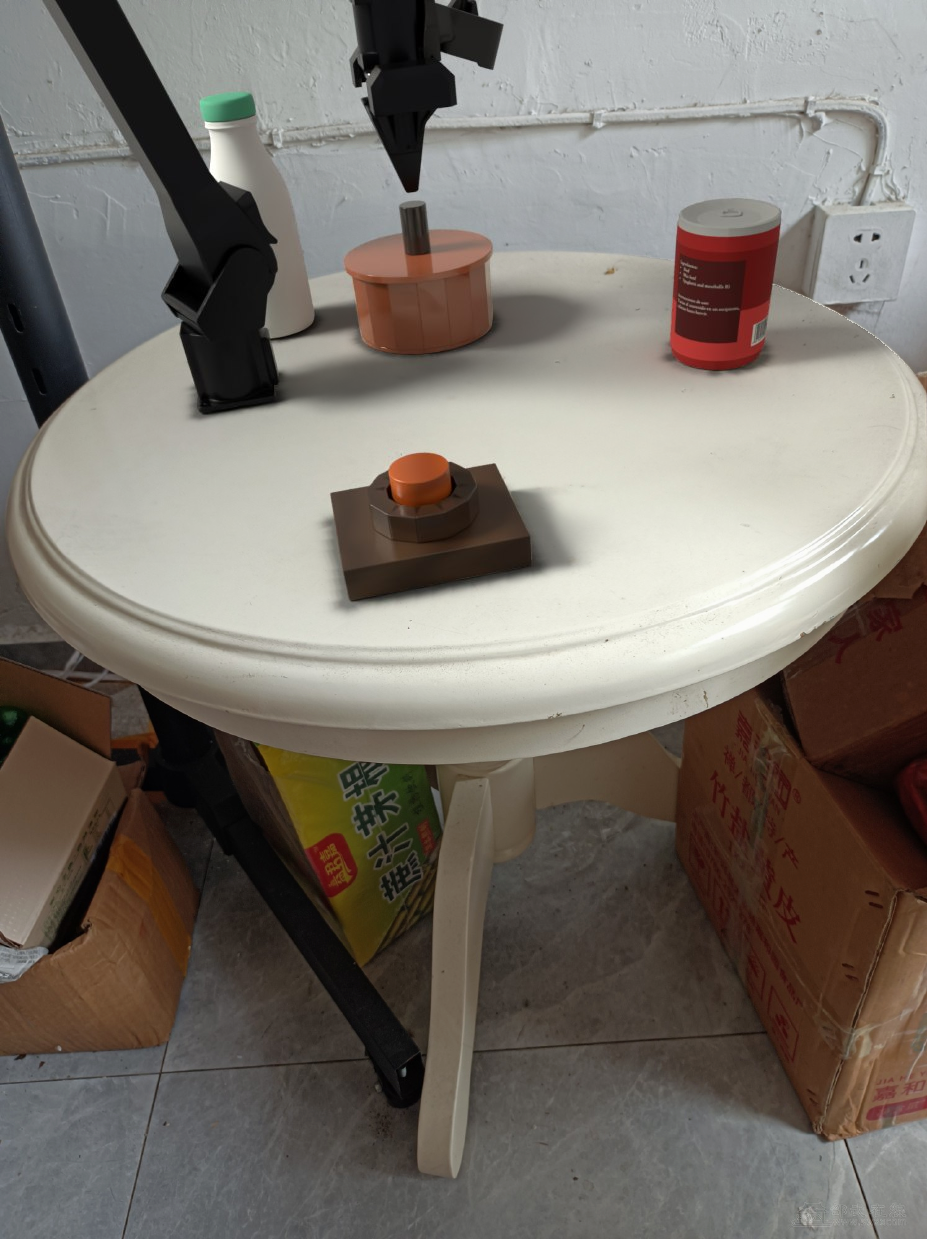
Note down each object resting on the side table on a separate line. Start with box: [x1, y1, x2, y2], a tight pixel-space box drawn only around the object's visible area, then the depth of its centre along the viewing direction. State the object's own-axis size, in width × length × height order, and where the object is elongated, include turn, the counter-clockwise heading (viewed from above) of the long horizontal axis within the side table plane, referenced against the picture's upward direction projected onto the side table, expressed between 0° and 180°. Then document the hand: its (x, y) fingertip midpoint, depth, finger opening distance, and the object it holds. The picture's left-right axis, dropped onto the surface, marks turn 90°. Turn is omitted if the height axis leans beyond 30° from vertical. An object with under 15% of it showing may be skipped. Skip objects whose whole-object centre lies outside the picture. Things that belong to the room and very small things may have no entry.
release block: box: [329, 461, 533, 601], centre depth 53 cm, size 11×9×4 cm
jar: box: [350, 258, 494, 355], centre depth 80 cm, size 13×13×6 cm
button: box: [387, 452, 452, 507], centre depth 51 cm, size 4×4×2 cm
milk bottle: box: [199, 91, 316, 339], centre depth 80 cm, size 8×8×20 cm
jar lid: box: [343, 200, 494, 284], centre depth 77 cm, size 14×14×5 cm
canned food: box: [669, 197, 782, 371], centre depth 69 cm, size 8×8×11 cm
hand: (411, 191), depth 74 cm, fingers closed
